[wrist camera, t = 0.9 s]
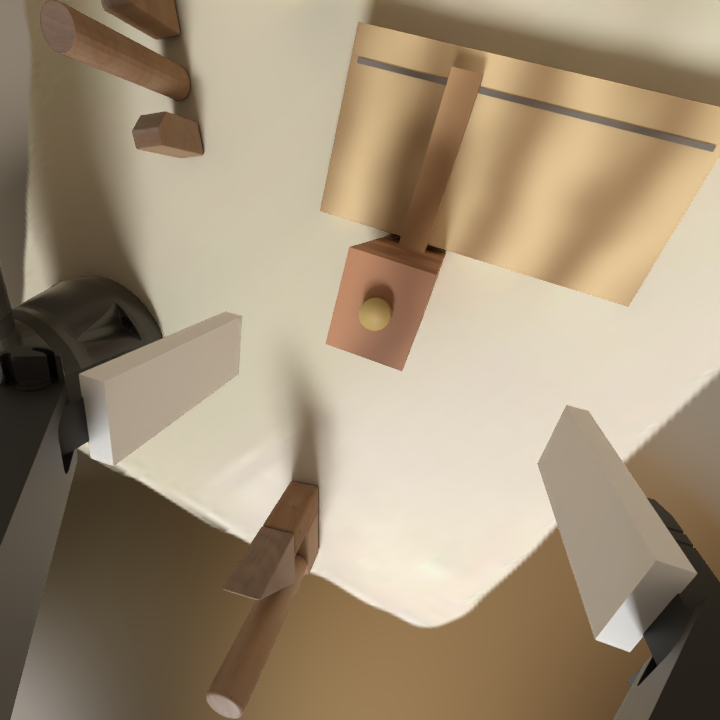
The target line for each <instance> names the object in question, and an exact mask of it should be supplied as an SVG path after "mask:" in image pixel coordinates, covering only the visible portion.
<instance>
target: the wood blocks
mask: <svg viewBox="0 0 720 720" xmlns="http://www.w3.org/2000/svg"><path fill="white" fill-rule="evenodd" d="M101 3H102V6H103V8H104V10H105V11H107V12H109V13H110V14H112V15H114V16H116V17H117V18H119V19H121V20H122V21H124V22H126V23H128V24H129V25H131V26H133V27H135V28H136V29H138V30H140V31H142V32H143V33H145V34H147V35H149V36H150V37H152V38H154V39H156V40H157V39H162V38H166V37H170V36H175V35H179V34H180V29H179V24H178V18H177V13H176V8H175V2H174V0H101ZM41 28H42V32H43V35H44V37H45V39H46V41H47V42H48V44H49V45H50V47H52V48H53V49H54V50H55V51H57V52H59V53H61V54H64V55H66V56H68V57H71V58H73V59H76V60H78V61H81V62H83V63H86V64H88V65H91V66H93V67H96V68H98V69H100V70H103V71H105V72H108V73H110V74H113V75H115V76H118V77H120V78H123V79H125V80H128V81H130V82H133V83H135V84H138V85H140V86H143V87H145V88H148V89H150V90H153V91H155V92H158V93H160V94H163V95H165V96H168V97H170V98H173V99H175V100H182V99H184V98H185V97H186V96H187V95H188V92H189V89H190V80H189V77H188V74H187V72H186V71H185V69H184V68H183V67H182V66H180V65H178V64H176V63H174V62H172V61H171V60H169V59H167V58H165V57H163V56H161V55H159V54H157V53H156V52H154V51H152V50H150V49H148V48H146V47H144V46H142V45H141V44H139V43H137V42H135V41H133V40H131V39H129V38H127V37H125V36H124V35H122V34H120V33H118V32H116V31H114V30H112V29H110V28H109V27H107V26H105V25H103V24H101V23H99V22H97V21H95V20H93V19H92V18H90V17H88V16H86V15H84V14H82V13H80V12H78V11H76V10H75V9H73V8H71V7H69V6H67V5H65V4H63V3H61V2H59V1H57V0H50V1H48V2H46V3H45V5H44V6H43V8H42V11H41ZM132 133H133V137H134V141H135V145H136V148H137V149H139V150H144V151H149V152H153V153H158V154H163V155H168V156H173V157H178V158H185V157H193V156H201V155H203V149H202V143H201V138H200V133H199V127H198V123H197V122H194V121H191V120H188V119H186V118H183V117H180V116H177V115H174V114H171V113H168V112H159V113H153V114H147V115H141V116H140V118H139V119H138V121H137V123H136V125H135V127H134V128H133V130H132Z"/></svg>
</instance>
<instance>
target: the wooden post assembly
mask: <svg viewBox="0 0 720 720" xmlns="http://www.w3.org/2000/svg"><path fill="white" fill-rule="evenodd" d="M317 554H318V487H317V486H313V485H309V484H304V483H300V482H295V481H292V482H290V484H289V486H288V487H287V489H286V490H285V492H284V493H283V495H282V497H281V498H280V500H279V501H278V503H277V504H276V506H275V507H274V509H273V511H272V512H271V514H270V515H269V517H268V518H267V520H266V521H265V523H264V526H263V527H261V529H260V530H259V532H258V533H257V535H256V537H255V538H254V540H253V541H252V543H251V544H250V546H249V547H248V549H247V551H246V552H245V554H244V555H243V557H242V558H241V560H240V562H239V563H238V565H237V566H236V568H235V569H234V571H233V572H232V574H231V576H230V577H229V579H228V580H227V582H226V584H225V585H224V587H223V589H224V590H226V591H229V592H232V593H235V594H239V595H242V596H245V597H249V598H252V599H255V600H256V601H255V603H254V605H253V607H252V608H251V611H250V612H249V614H248V616H247V618H246V620H245V622H244V624H243V625H242V627H241V629H240V631H239V633H238V635H237V637H236V638H235V640H234V642H233V644H232V646H231V648H230V650H229V652H228V653H227V656H226V657H225V659H224V661H223V663H222V665H221V666H220V668H219V671H218V672H217V674H216V676H215V678H214V680H213V682H212V684H211V685H210V687H209V689H208V691H207V695H206V699H207V702H208V704H209V705H210V706H211V707H212V708H213V709H214V710H215V711H216V712H217V713H219V714H220V715H223V716H225V717H228V718H235V719H236V718H239V717H240V716H241V715H242V714H243V713H244V711H245V709H246V707H247V705H248V702H249V700H250V698H251V695H252V693H253V691H254V689H255V686H256V684H257V682H258V679H259V677H260V675H261V673H262V670H263V668H264V665H265V663H266V661H267V659H268V656H269V654H270V652H271V650H272V648H273V645H274V643H275V641H276V638H277V636H278V634H279V632H280V629H281V627H282V625H283V622H284V620H285V618H286V616H287V613H288V611H289V609H290V606H291V604H292V602H293V600H294V597H295V595H296V593H297V590H298V588H299V586H300V584H301V581H302V579H303V577H304V574H305V575H308V574H309V573H310V571H311V568H312V566H313V564H314V561H315V559H316V556H317Z"/></svg>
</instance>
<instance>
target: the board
mask: <svg viewBox="0 0 720 720" xmlns="http://www.w3.org/2000/svg"><path fill="white" fill-rule="evenodd" d="M452 67H456V68H460V69H464V70H468V71H472V72H476V73H480V74H483V79H482V83H481V86H480V89H479V92H478V95H477V98H476V101H475V103H474V106H473V109H472V112H471V115H470V118H469V121H468V124H467V127H466V130H465V133H464V136H463V139H462V142H461V145H460V148H459V151H458V154H457V157H456V160H455V163H454V166H453V169H452V172H451V175H450V178H449V181H448V184H447V187H446V190H445V193H444V196H443V199H442V202H441V205H440V208H439V211H438V214H437V217H436V220H435V223H434V226H433V229H432V232H431V235H430V238H429V241H428V245H431V246H434V247H438V248H441V249H444V250H447V251H451V252H454V253H457V254H460V255H463V256H467V257H470V258H473V259H476V260H480V261H483V262H486V263H489V264H492V265H496V266H499V267H502V268H505V269H509V270H512V271H515V272H518V273H521V274H525V275H528V276H531V277H534V278H538V279H541V280H544V281H547V282H550V283H554V284H557V285H560V286H563V287H567V288H570V289H573V290H576V291H579V292H583V293H586V294H589V295H592V296H596V297H599V298H602V299H605V300H609V301H612V302H615V303H618V304H621V305H625V306H629V305H630V303H631V301H632V300H633V298H634V296H635V295H636V293H637V291H638V290H639V288H640V286H641V285H642V283H643V282H644V280H645V278H646V277H647V275H648V273H649V272H650V270H651V268H652V267H653V265H654V263H655V262H656V260H657V258H658V257H659V255H660V254H661V252H662V250H663V249H664V247H665V245H666V244H667V242H668V240H669V239H670V237H671V235H672V234H673V232H674V230H675V229H676V227H677V226H678V224H679V222H680V221H681V219H682V217H683V216H684V214H685V212H686V211H687V209H688V207H689V206H690V204H691V202H692V201H693V199H694V198H695V196H696V194H697V193H698V191H699V189H700V188H701V186H702V184H703V183H704V181H705V179H706V178H707V176H708V174H709V173H710V171H711V170H712V168H713V166H714V165H715V163H716V161H717V160H718V158H719V156H720V107H718V106H714V105H710V104H705V103H701V102H697V101H693V100H688V99H684V98H680V97H676V96H671V95H667V94H663V93H659V92H654V91H650V90H646V89H642V88H637V87H633V86H629V85H625V84H620V83H616V82H612V81H608V80H604V79H599V78H595V77H591V76H587V75H582V74H578V73H574V72H570V71H565V70H561V69H557V68H553V67H548V66H544V65H540V64H536V63H531V62H527V61H523V60H519V59H514V58H510V57H506V56H502V55H497V54H493V53H489V52H485V51H480V50H476V49H472V48H468V47H463V46H459V45H455V44H451V43H446V42H442V41H438V40H434V39H429V38H425V37H421V36H417V35H412V34H408V33H404V32H400V31H395V30H391V29H387V28H383V27H378V26H374V25H370V24H366V23H361V22H358V26H357V31H356V36H355V41H354V46H353V51H352V56H351V61H350V66H349V71H348V76H347V81H346V85H345V90H344V95H343V100H342V105H341V110H340V115H339V120H338V125H337V130H336V135H335V140H334V145H333V149H332V154H331V159H330V164H329V169H328V174H327V179H326V184H325V189H324V194H323V199H322V204H321V209H320V211H322V212H325V213H328V214H331V215H335V216H338V217H341V218H344V219H347V220H351V221H354V222H357V223H360V224H364V225H367V226H370V227H373V228H376V229H380V230H383V231H386V232H389V233H393V234H396V235H399V236H401V234H402V231H403V227H404V224H405V221H406V217H407V214H408V211H409V207H410V204H411V201H412V197H413V194H414V191H415V187H416V184H417V181H418V177H419V174H420V171H421V167H422V164H423V161H424V157H425V154H426V151H427V147H428V144H429V141H430V137H431V134H432V131H433V127H434V124H435V121H436V118H437V114H438V111H439V108H440V104H441V101H442V98H443V94H444V91H445V88H446V84H447V81H448V78H449V74H450V71H451V68H452Z"/></svg>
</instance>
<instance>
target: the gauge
mask: <svg viewBox="0 0 720 720" xmlns="http://www.w3.org/2000/svg"><path fill="white" fill-rule="evenodd" d="M482 79H483V74H480V73H476V72H472V71H468V70H464V69H460V68H456V67H452V68H451V71H450V74H449V78H448V81H447V84H446V88H445V91H444V94H443V98H442V101H441V104H440V108H439V111H438V114H437V118H436V121H435V124H434V127H433V131H432V134H431V137H430V141H429V144H428V147H427V151H426V154H425V157H424V161H423V164H422V167H421V171H420V174H419V177H418V181H417V184H416V187H415V191H414V194H413V197H412V201H411V204H410V207H409V211H408V214H407V217H406V221H405V224H404V227H403V231H402V234H401V237H400V239H397V238H394V237H391V236H387V237H383V238H380V239H376V240H373V241H369V242H366V243H362V244H359V245H355V246H352V247H349V251H348V255H347V259H346V263H345V268H344V272H343V276H342V280H341V284H340V288H339V292H338V296H337V300H336V304H335V308H334V312H333V316H332V320H331V325H330V329H329V333H328V337H327V341H326V344H328V345H331V346H333V347H336V348H339V349H342V350H345V351H347V352H350V353H353V354H356V355H358V356H361V357H364V358H367V359H370V360H372V361H375V362H378V363H381V364H383V365H386V366H389V367H392V368H395V369H397V370H400V371H402V370H403V367H404V365H405V362H406V360H407V357H408V354H409V352H410V349H411V347H412V344H413V341H414V339H415V336H416V334H417V331H418V328H419V326H420V323H421V321H422V318H423V315H424V312H425V310H426V307H427V304H428V301H429V298H430V296H431V293H432V290H433V287H434V284H435V282H436V279H437V276H438V273H439V271H440V268H441V265H442V262H443V259H444V257H445V253H442V252H439V251H436V250H432V249H429V248H426V247H427V244H428V241H429V238H430V235H431V232H432V229H433V226H434V223H435V220H436V217H437V214H438V211H439V208H440V205H441V202H442V199H443V196H444V193H445V190H446V187H447V184H448V181H449V178H450V175H451V172H452V169H453V166H454V163H455V160H456V157H457V154H458V151H459V148H460V145H461V142H462V139H463V136H464V133H465V130H466V127H467V124H468V121H469V118H470V115H471V112H472V109H473V106H474V103H475V101H476V98H477V95H478V92H479V89H480V86H481V83H482Z"/></svg>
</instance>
